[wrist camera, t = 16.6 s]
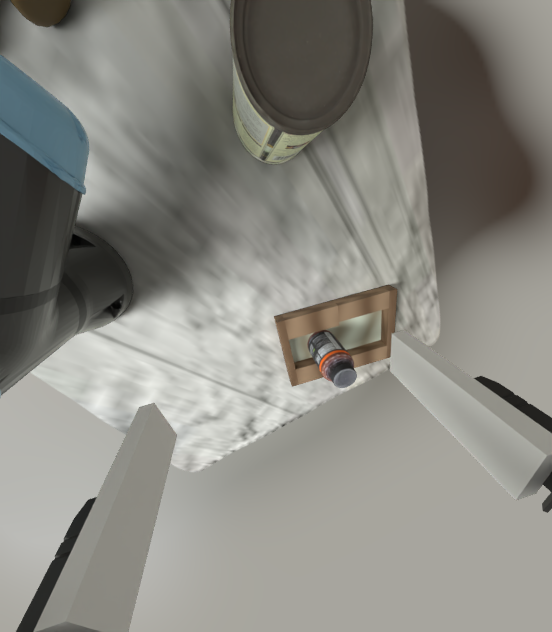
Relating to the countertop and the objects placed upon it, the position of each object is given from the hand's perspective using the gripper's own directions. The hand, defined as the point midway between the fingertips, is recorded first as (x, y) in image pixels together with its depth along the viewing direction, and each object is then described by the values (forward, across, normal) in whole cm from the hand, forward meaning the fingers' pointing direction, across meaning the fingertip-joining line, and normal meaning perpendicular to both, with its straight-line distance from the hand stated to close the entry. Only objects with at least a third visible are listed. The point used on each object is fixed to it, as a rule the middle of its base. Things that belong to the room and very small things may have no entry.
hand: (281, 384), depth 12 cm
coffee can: (+27, +8, +18) cm, 33 cm away
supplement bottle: (+27, +10, -18) cm, 34 cm away
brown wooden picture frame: (+27, +14, -18) cm, 35 cm away
